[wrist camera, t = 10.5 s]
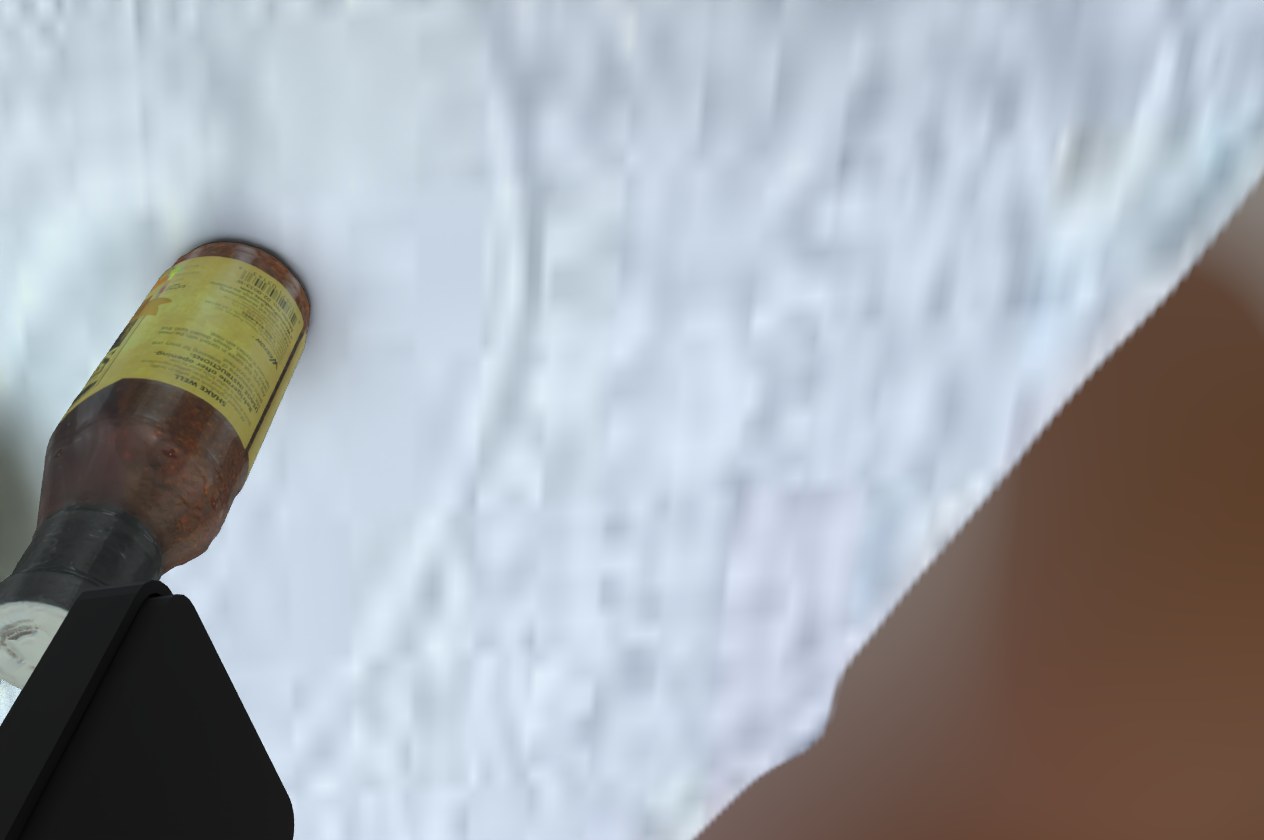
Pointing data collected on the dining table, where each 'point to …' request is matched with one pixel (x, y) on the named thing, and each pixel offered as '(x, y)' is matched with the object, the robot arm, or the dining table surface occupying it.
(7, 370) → the dining table surface
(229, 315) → the sauce bottle
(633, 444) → the dining table surface
